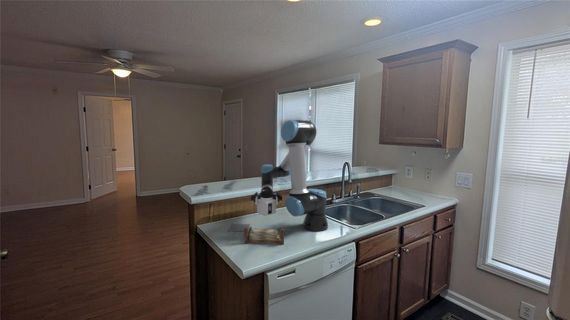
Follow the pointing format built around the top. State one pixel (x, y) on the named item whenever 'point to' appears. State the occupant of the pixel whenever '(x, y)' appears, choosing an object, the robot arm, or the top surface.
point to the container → (266, 203)
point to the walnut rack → (247, 235)
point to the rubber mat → (238, 227)
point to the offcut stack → (264, 234)
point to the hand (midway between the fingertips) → (266, 202)
